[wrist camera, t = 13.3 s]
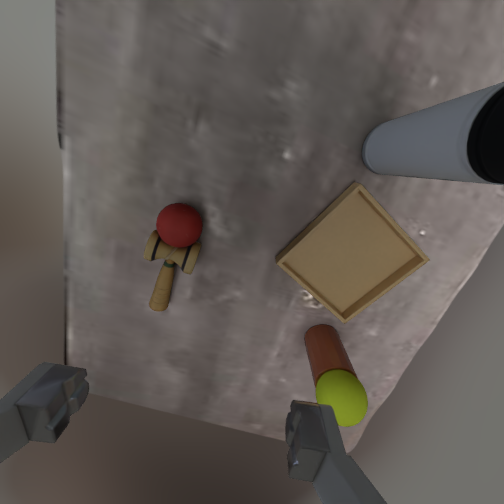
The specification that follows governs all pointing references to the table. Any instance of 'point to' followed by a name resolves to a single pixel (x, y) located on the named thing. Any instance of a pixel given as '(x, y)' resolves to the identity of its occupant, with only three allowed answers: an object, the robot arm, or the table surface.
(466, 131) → the travel mug
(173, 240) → the kendama
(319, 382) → the tennis ball
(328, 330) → the cup
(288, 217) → the table surface
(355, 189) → the tray
